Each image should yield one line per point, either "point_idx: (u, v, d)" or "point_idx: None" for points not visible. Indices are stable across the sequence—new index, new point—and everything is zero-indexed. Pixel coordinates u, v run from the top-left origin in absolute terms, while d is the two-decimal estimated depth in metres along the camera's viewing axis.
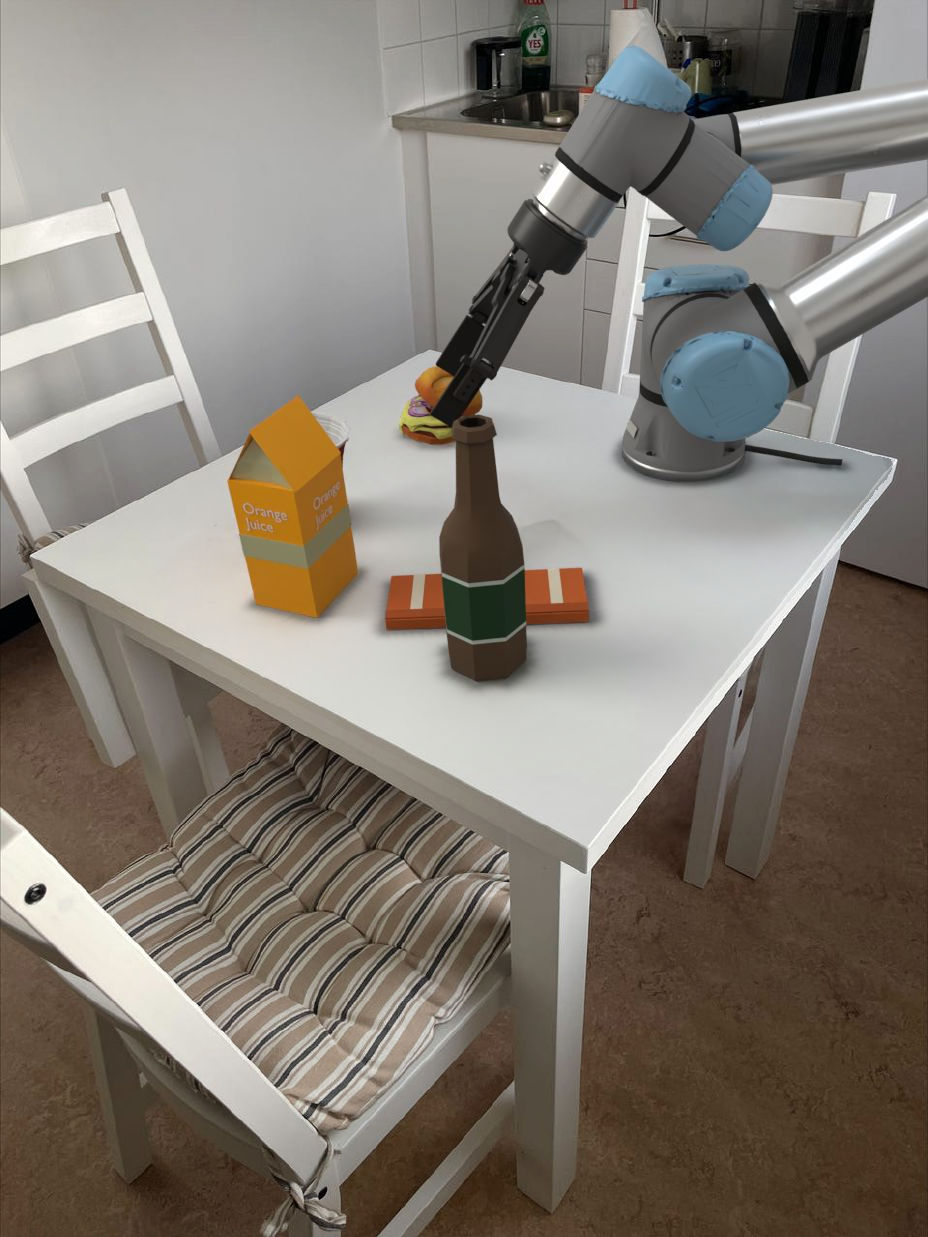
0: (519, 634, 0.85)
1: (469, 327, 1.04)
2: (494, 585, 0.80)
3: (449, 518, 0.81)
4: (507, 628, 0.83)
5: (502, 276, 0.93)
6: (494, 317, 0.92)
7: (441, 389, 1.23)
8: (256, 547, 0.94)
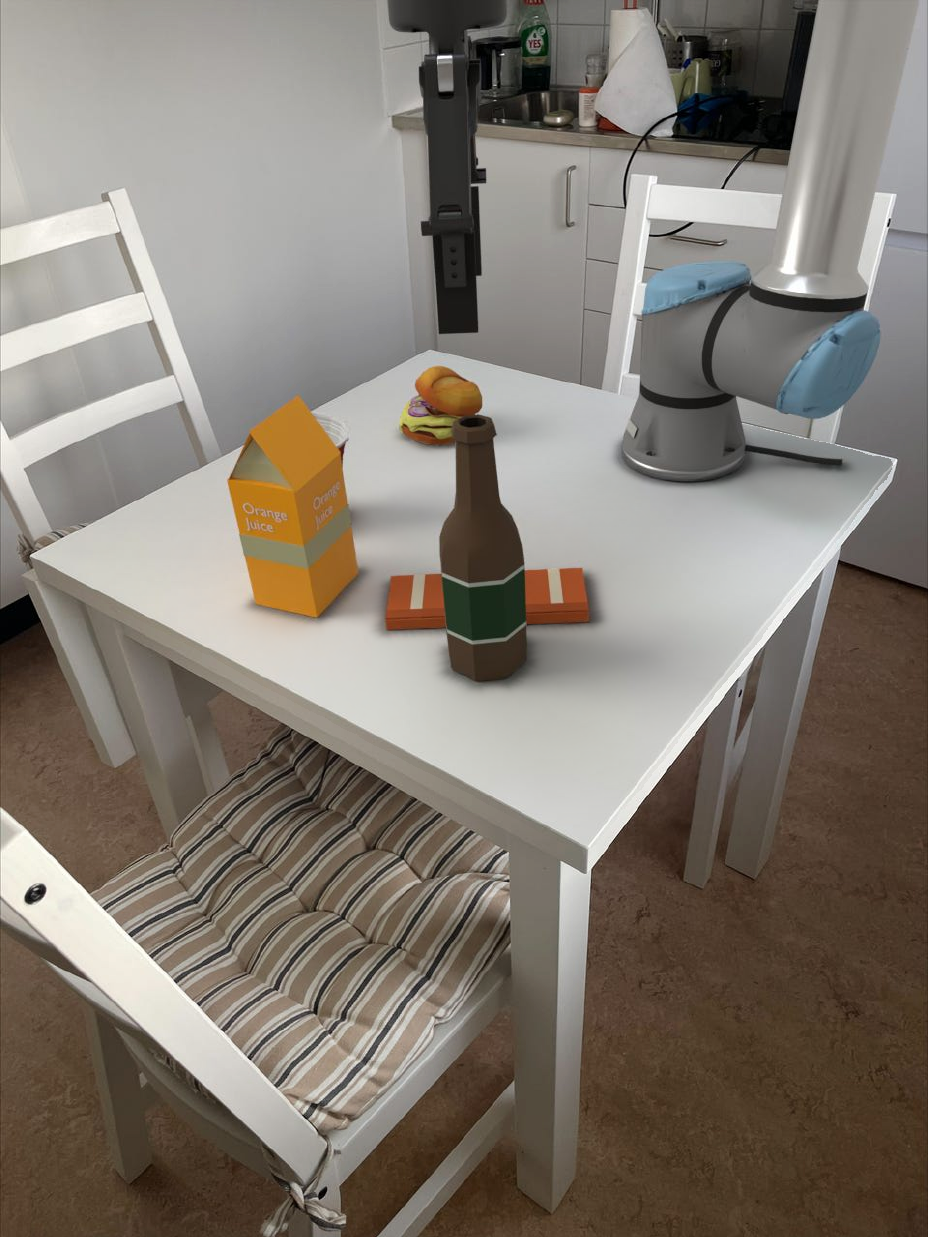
0: (519, 634, 0.85)
1: None
2: (494, 585, 0.80)
3: (449, 518, 0.81)
4: (507, 628, 0.83)
5: (420, 90, 0.61)
6: None
7: (441, 389, 1.23)
8: (256, 547, 0.94)
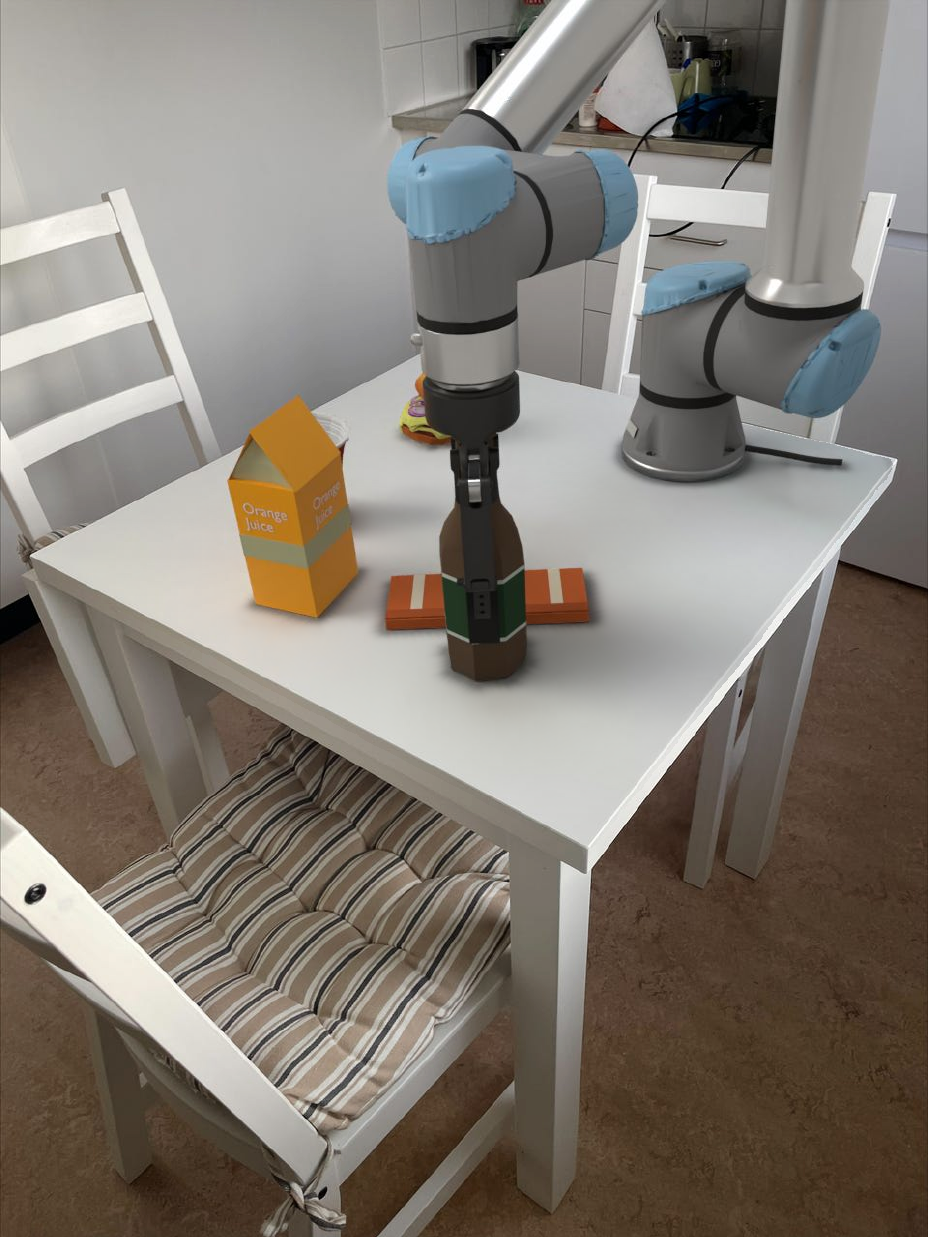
0: (519, 634, 0.85)
1: None
2: None
3: (449, 518, 0.81)
4: (506, 628, 0.83)
5: None
6: None
7: None
8: (256, 547, 0.94)
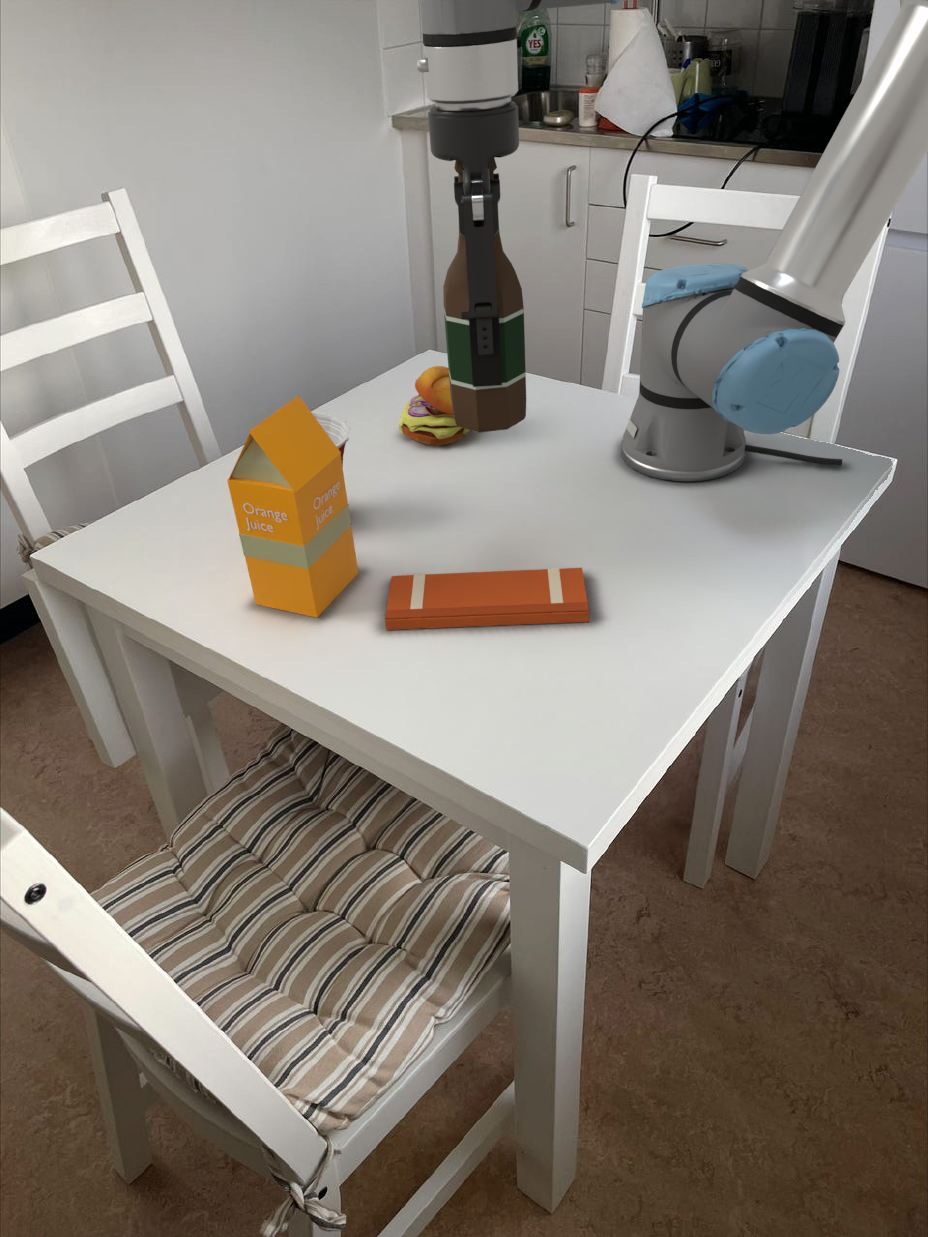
0: (519, 383, 0.91)
1: None
2: None
3: (452, 262, 0.86)
4: (507, 373, 0.89)
5: (455, 201, 0.81)
6: None
7: (441, 389, 1.23)
8: (256, 547, 0.94)
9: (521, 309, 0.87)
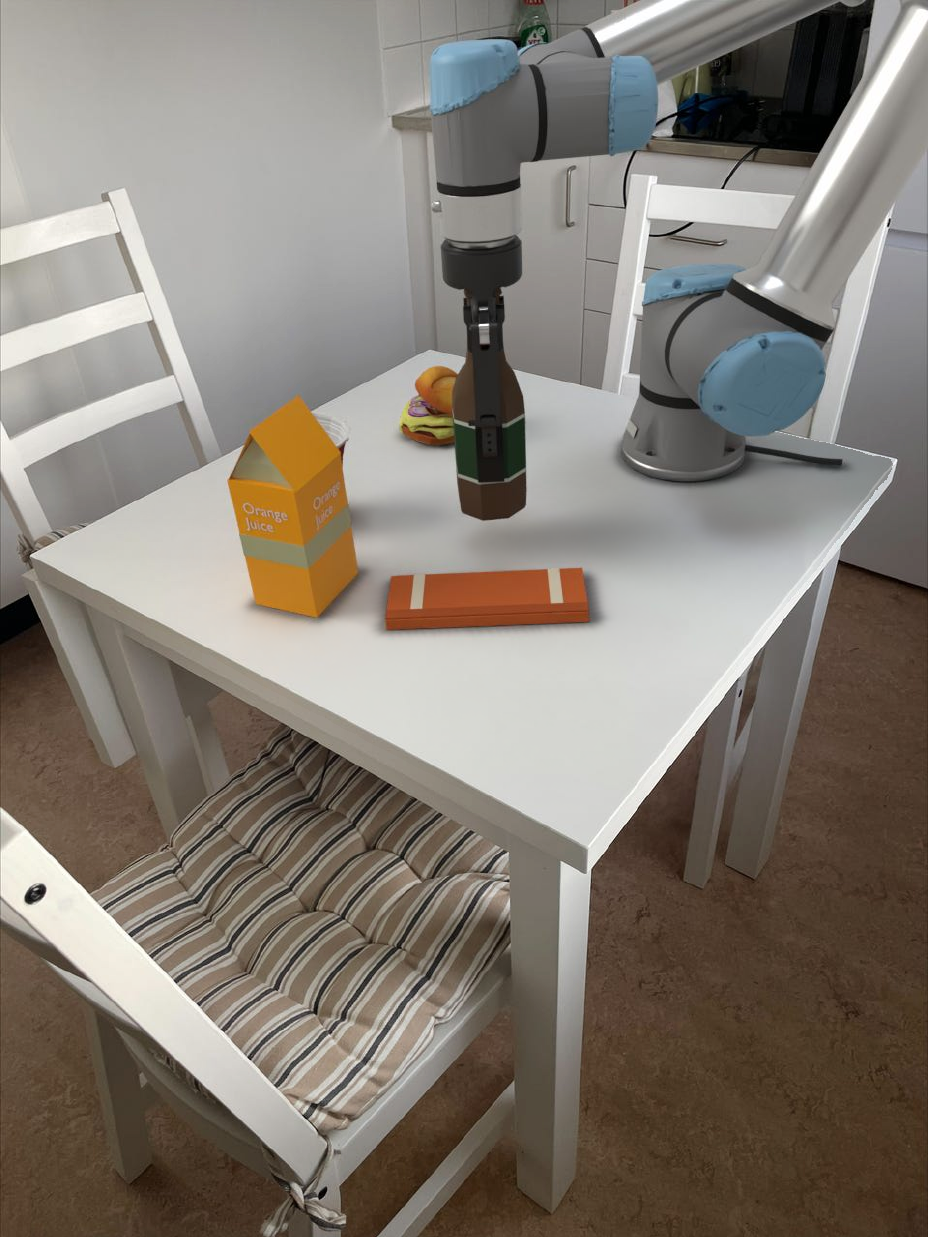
0: (520, 478, 0.99)
1: None
2: None
3: (461, 372, 0.95)
4: (509, 470, 0.97)
5: None
6: None
7: (441, 389, 1.23)
8: (256, 547, 0.94)
9: (522, 414, 0.96)
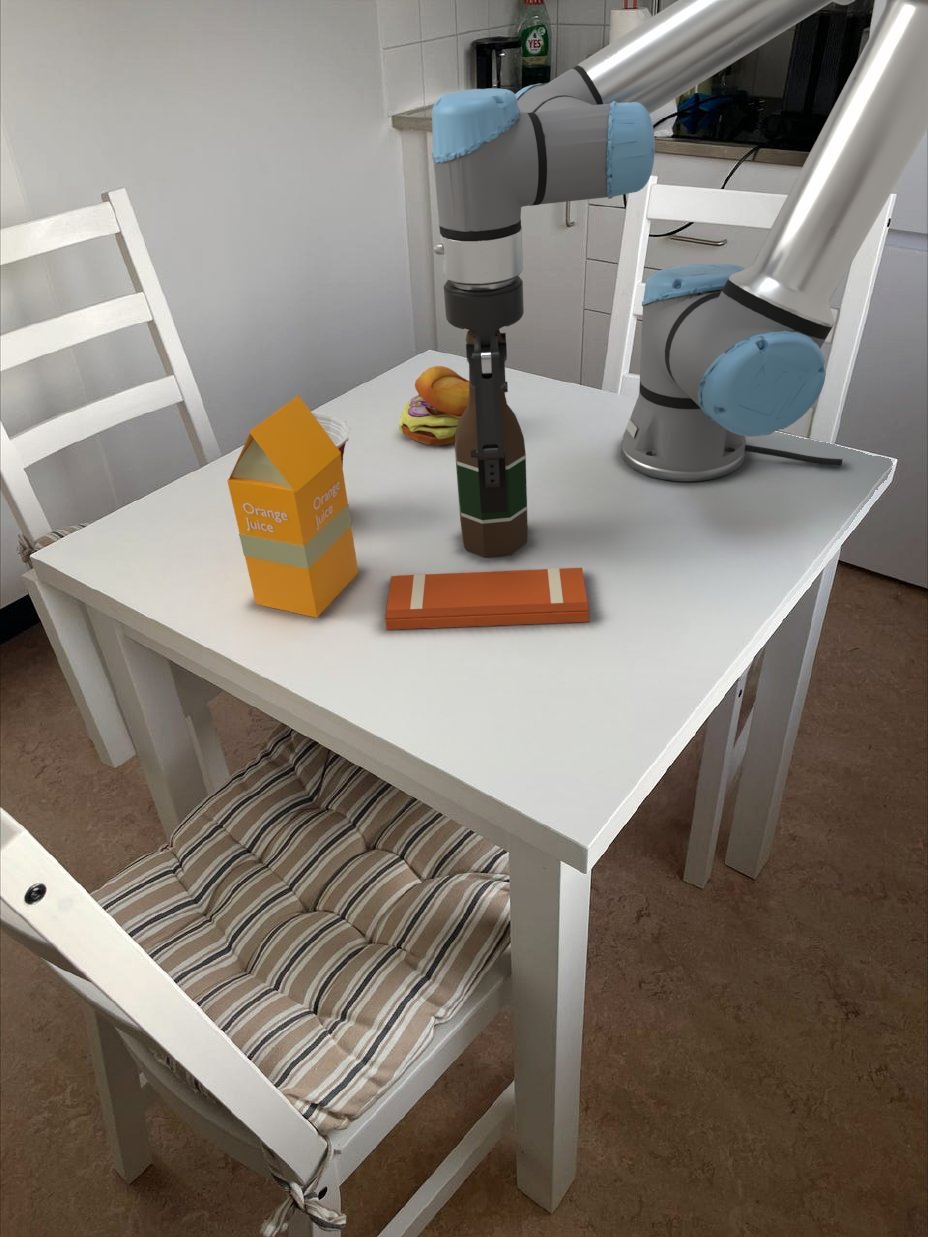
0: (521, 516, 1.02)
1: None
2: None
3: (463, 415, 0.98)
4: (511, 510, 1.00)
5: (467, 359, 0.92)
6: None
7: (441, 389, 1.23)
8: (256, 547, 0.94)
9: (523, 455, 0.98)
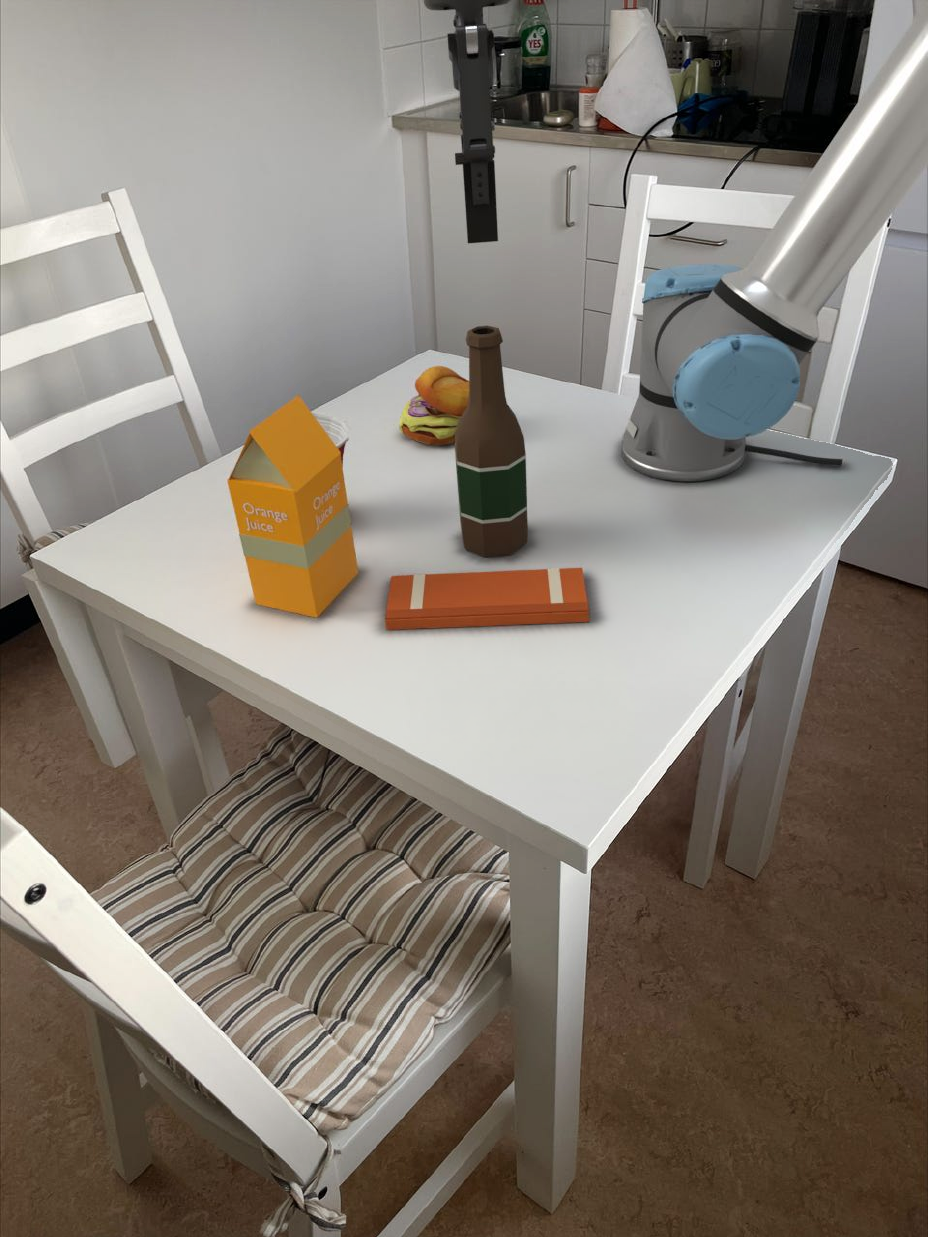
0: (521, 516, 1.02)
1: None
2: (501, 470, 0.97)
3: (463, 415, 0.98)
4: (511, 510, 1.00)
5: (449, 54, 0.80)
6: None
7: (441, 389, 1.23)
8: (256, 547, 0.94)
9: (523, 456, 0.98)
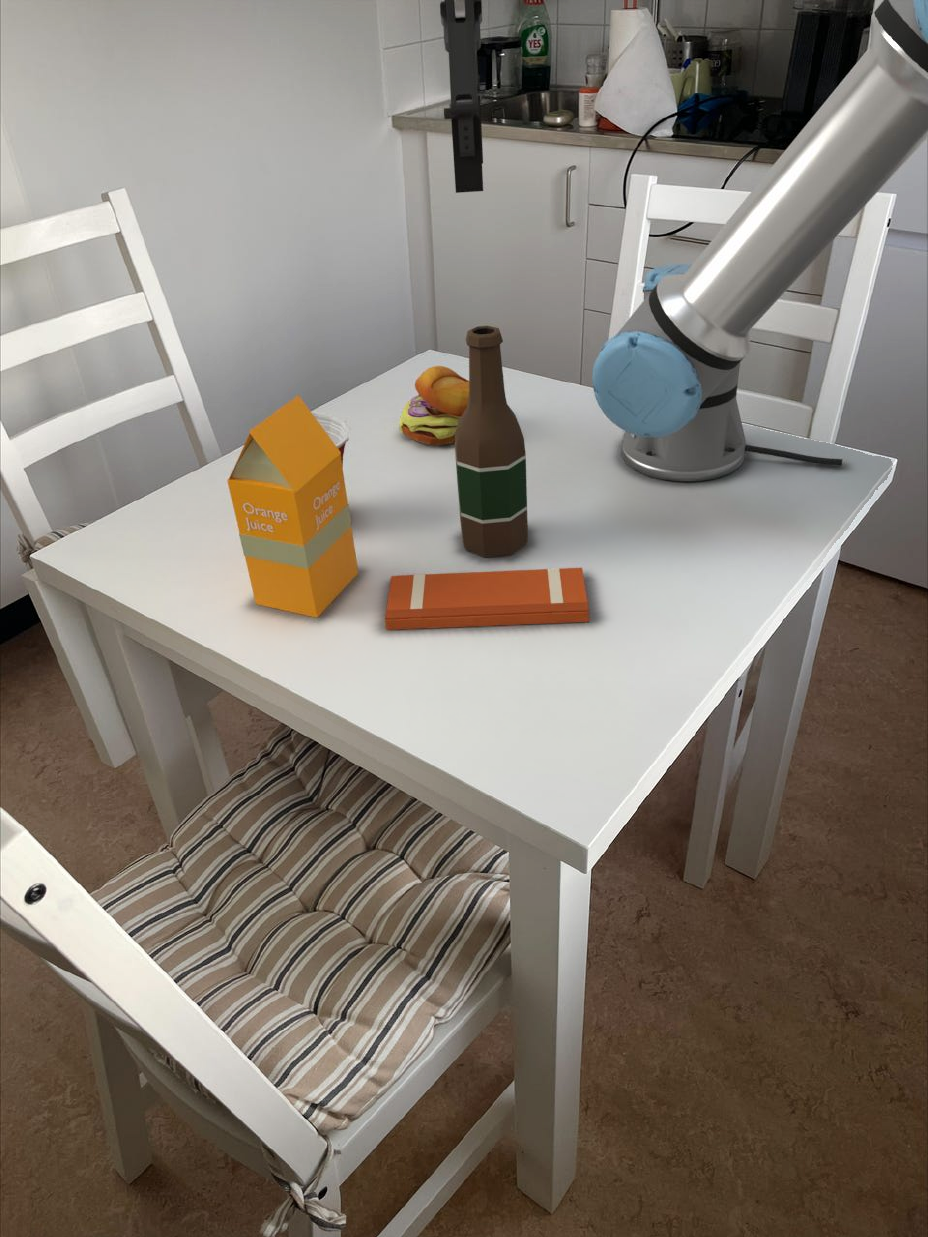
0: (521, 516, 1.02)
1: None
2: (501, 470, 0.97)
3: (463, 415, 0.98)
4: (511, 510, 1.00)
5: (441, 19, 0.89)
6: None
7: (441, 389, 1.23)
8: (256, 547, 0.94)
9: (523, 456, 0.98)
